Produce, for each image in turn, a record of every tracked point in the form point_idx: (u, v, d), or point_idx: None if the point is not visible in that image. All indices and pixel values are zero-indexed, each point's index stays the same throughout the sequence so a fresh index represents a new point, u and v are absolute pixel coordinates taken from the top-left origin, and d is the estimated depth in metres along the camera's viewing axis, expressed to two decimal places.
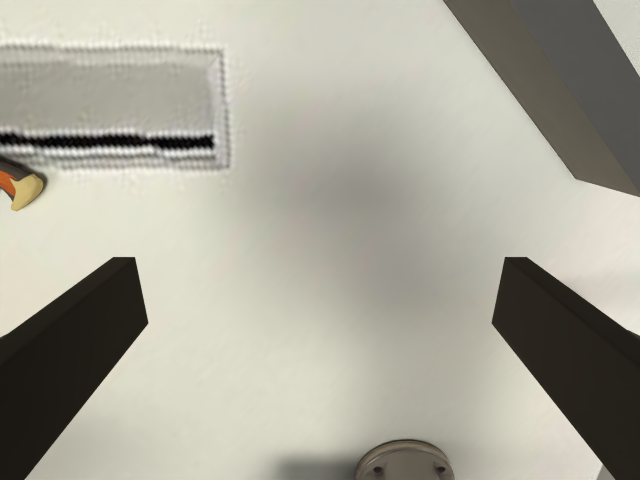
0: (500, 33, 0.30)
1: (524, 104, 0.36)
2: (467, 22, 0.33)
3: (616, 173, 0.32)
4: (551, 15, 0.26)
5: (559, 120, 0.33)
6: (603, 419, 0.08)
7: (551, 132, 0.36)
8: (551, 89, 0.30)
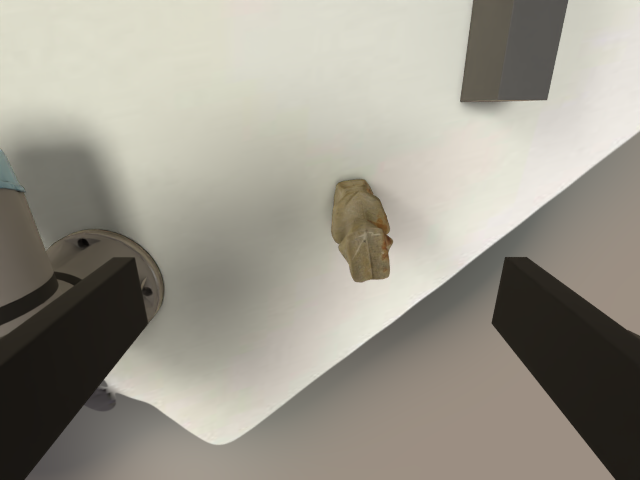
0: None
1: None
2: None
3: (495, 66, 0.32)
4: None
5: None
6: (603, 419, 0.08)
7: (478, 22, 0.35)
8: None
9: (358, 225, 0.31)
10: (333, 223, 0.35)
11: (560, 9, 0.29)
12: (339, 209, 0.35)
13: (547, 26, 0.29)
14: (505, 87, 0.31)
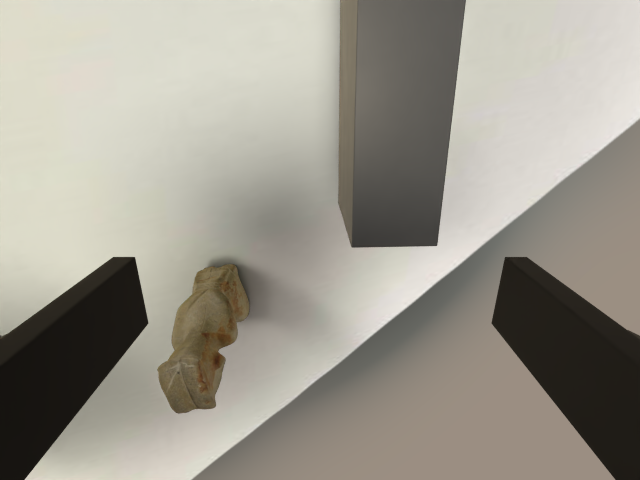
0: None
1: (340, 34, 0.22)
2: None
3: (349, 187, 0.18)
4: None
5: (346, 61, 0.19)
6: (603, 419, 0.08)
7: (341, 97, 0.22)
8: None
9: (179, 348, 0.27)
10: (173, 330, 0.31)
11: (443, 102, 0.16)
12: (181, 313, 0.31)
13: (422, 130, 0.16)
14: (362, 228, 0.18)
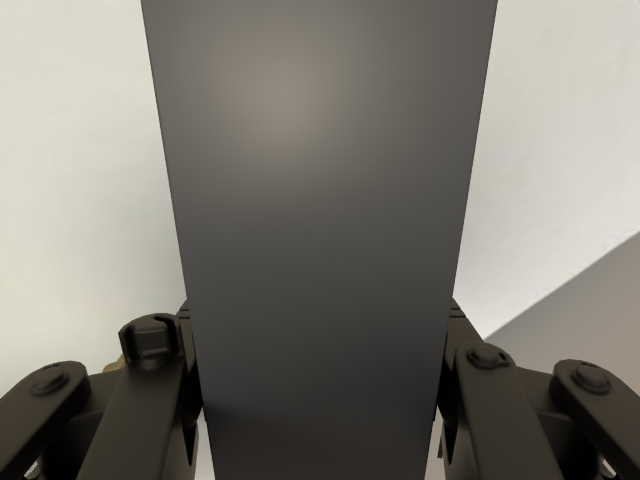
0: None
1: None
2: None
3: None
4: None
5: None
6: None
7: None
8: None
9: None
10: None
11: (427, 266, 0.06)
12: None
13: (372, 329, 0.06)
14: None
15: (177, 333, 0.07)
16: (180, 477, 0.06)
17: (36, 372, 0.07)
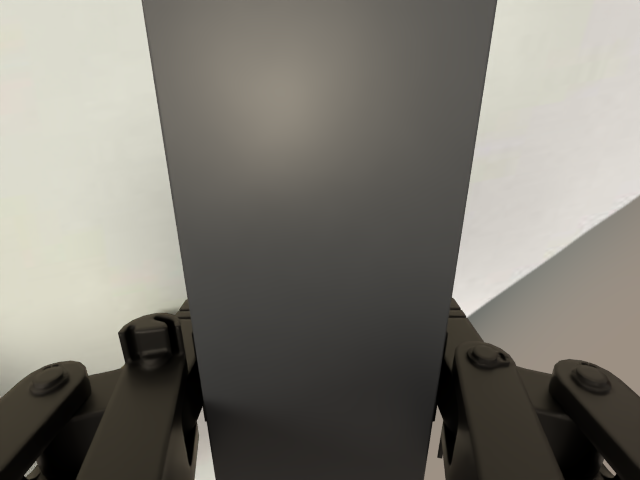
0: None
1: None
2: None
3: None
4: None
5: None
6: None
7: None
8: None
9: None
10: None
11: (426, 265, 0.06)
12: None
13: (372, 328, 0.06)
14: None
15: (177, 333, 0.07)
16: (180, 477, 0.06)
17: (36, 372, 0.07)
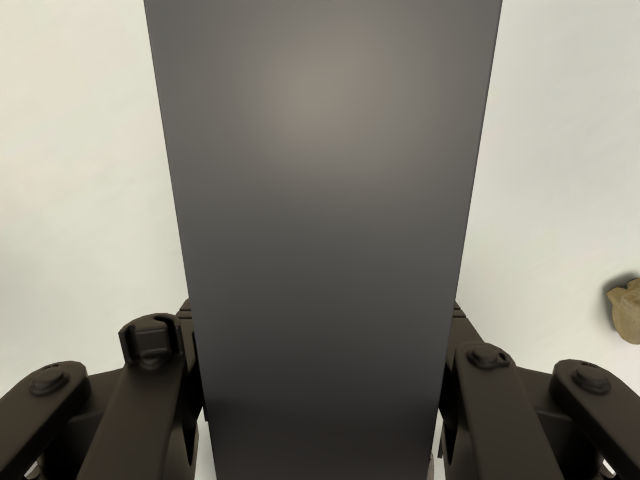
0: None
1: None
2: None
3: None
4: None
5: None
6: None
7: None
8: None
9: None
10: None
11: (431, 261, 0.06)
12: None
13: (375, 325, 0.06)
14: None
15: (177, 333, 0.07)
16: (180, 477, 0.06)
17: (36, 372, 0.07)
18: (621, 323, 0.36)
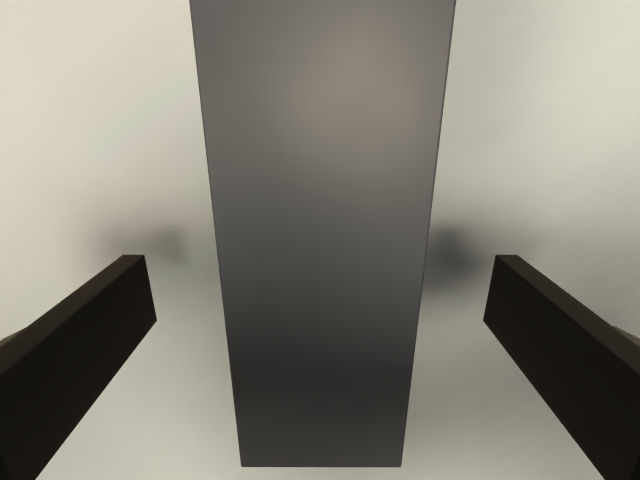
0: None
1: None
2: None
3: None
4: None
5: None
6: (587, 412, 0.08)
7: None
8: None
9: None
10: None
11: (404, 233, 0.07)
12: None
13: (362, 284, 0.08)
14: (258, 439, 0.09)
15: None
16: None
17: None
18: None
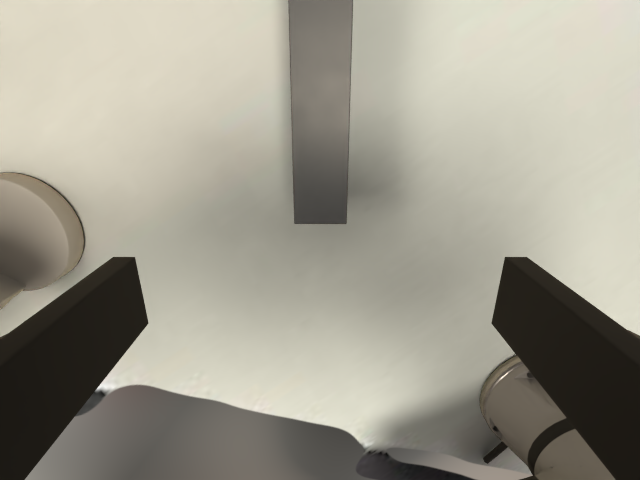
0: None
1: None
2: None
3: None
4: None
5: None
6: (603, 419, 0.08)
7: None
8: None
9: None
10: None
11: (342, 140, 0.27)
12: None
13: (331, 155, 0.28)
14: (300, 211, 0.30)
15: None
16: None
17: None
18: None
